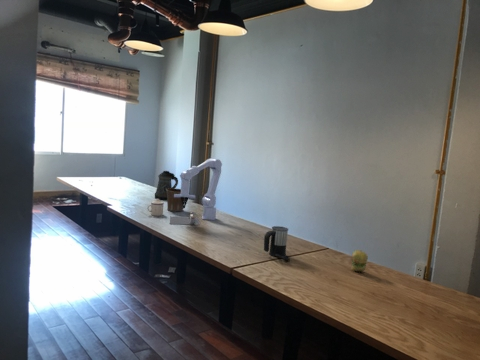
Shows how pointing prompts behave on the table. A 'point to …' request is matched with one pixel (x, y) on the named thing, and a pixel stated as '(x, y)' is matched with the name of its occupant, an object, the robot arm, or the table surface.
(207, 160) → the robot arm
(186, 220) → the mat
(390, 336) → the table surface
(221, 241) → the table surface
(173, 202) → the plant pot
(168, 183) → the beer stein
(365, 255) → the hamburger
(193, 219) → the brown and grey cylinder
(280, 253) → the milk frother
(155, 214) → the teacup with lid
